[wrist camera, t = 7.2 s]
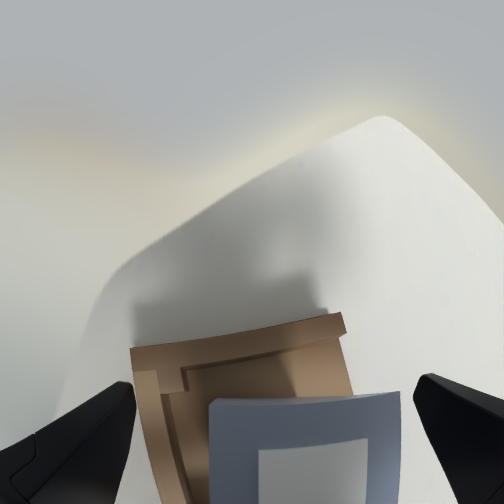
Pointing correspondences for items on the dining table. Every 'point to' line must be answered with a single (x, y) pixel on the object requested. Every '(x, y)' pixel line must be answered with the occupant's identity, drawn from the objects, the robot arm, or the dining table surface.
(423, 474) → the dining table surface
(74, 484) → the robot arm
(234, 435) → the grey tall block
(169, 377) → the pocket
